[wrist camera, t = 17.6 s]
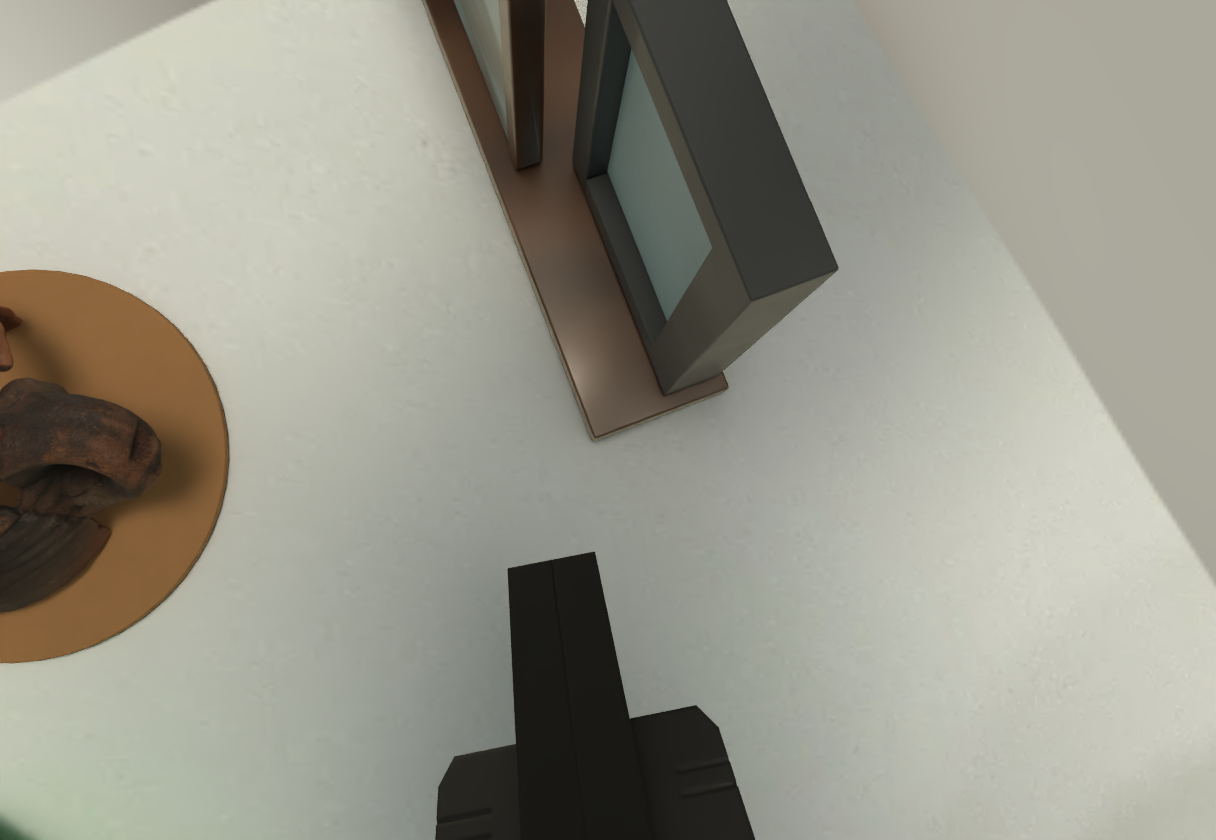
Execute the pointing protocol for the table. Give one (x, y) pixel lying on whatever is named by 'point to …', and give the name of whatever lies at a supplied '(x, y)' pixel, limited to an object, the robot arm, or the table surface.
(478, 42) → the brown piece
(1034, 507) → the table surface
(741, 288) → the window sash
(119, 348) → the coaster
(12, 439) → the pottery mug
